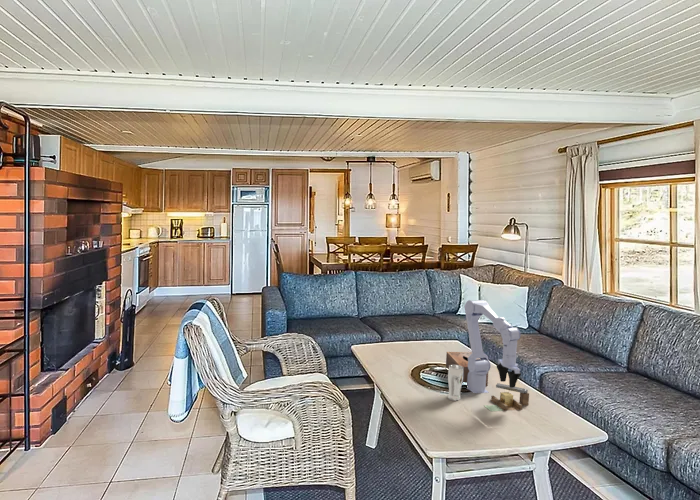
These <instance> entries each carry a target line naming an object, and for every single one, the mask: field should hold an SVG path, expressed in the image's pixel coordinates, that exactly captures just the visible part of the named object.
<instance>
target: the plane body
mask: <svg viewBox="0 0 700 500" xmlns="http://www.w3.org/2000/svg"><path fill="white" fill-rule="evenodd" d="M529 400H530V393H529V392H528V393H520V392H519V402H518V401H517V400H515V399H514V398H513V406H507V405H506V404H504V403H503V402H502V401H500V398H498V397H496V396H494V395H491V397H490V401H491V402H492V403H493V404H494V405H497V406H498V407H499V408H501V409H502V410H503V411H522V410H523V406H529V402H530V401H529Z"/></svg>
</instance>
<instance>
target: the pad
mask: <svg viewBox="0 0 700 500" xmlns="http://www.w3.org/2000/svg"><path fill="white" fill-rule="evenodd" d="M484 407H485V408H486V409H487V410H489V411H490V412H503V411H504V410H503V409H501V408H500V407H499V406H497V405H496V404H492V405H491V404H490V405H489V404H488V405H484Z"/></svg>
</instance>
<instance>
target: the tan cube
mask: <svg viewBox="0 0 700 500" xmlns="http://www.w3.org/2000/svg"><path fill="white" fill-rule="evenodd" d="M499 395H500V397H499V400H500V401H502V402H503V403H504V404H506V405H507V406H513V399H514V394H513V393H510V392H509V391H504V392H503V391H502V392H500V393H499Z"/></svg>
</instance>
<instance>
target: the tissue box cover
mask: <svg viewBox="0 0 700 500" xmlns="http://www.w3.org/2000/svg"><path fill="white" fill-rule="evenodd" d="M471 354H472V351H471V352H470V351H446V356H445V357H446V358H445V360H446V361H445V368H446V367H447V368H448V369H449V365H460V366H462V367H463V371H464V375H463V382H467V376H468V373H469V369H468V357H469V356H470V355H471ZM477 359H480V358H477ZM477 359H476V360H477ZM488 381H489V372H488V373H487V374H486V387H488V384H489V382H488Z"/></svg>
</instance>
